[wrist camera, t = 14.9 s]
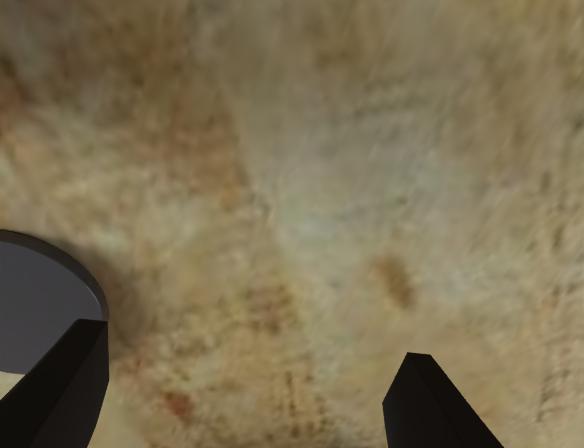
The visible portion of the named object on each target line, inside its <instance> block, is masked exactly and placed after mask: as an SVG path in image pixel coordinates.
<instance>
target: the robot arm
mask: <svg viewBox="0 0 584 448" xmlns="http://www.w3.org/2000/svg"><path fill="white" fill-rule="evenodd" d="M108 383H109V353H108V321H100V320H90V319H80V318H79V319H78V320H76V321H74V322H73V324H72V325H71V326H70V327H69V328H68V329H67V331H66V332H65V333H64V334H63V335H62V336H61V337H60V338H59V340H58V341H57V342H56V343H55V344H54V345H53V346H52V347H51V348H50V350H49V351H48V352H47V353H46V354H45V355H44V356H43V357H42V358H41V359H40V360H39V361H38V362H37V363H36V365H35V366H34V367H33V368H32V369H31V370H30V371H29V372H28V373H27V374H26V375H25V376H24V377H23V378H22V379H21V380H20V381H19V382H18V383H17V384H16V385H15V386H14V387H13V388H12V389H11V390H10V391H9V392H8V393H7V394H6V395H5V396H4V397H3V398H2V399H1V400H0V448H87V447H88V444H89V442H90V439H91V437H92V434H93V432H94V429H95V427H96V424H97V421H98V417H99V414H100V411H101V407H102V404H103V400H104V397H105V393H106V390H107V386H108ZM382 405H383V413H384V422H385V429H386V436H387V442H388V448H504V447H503V446H502V445H501V443H500V442H499V441H498V440H497V439H496V437H495V436H494V435H493V434H492V432H491V431H490V430H489V429H488V427H487V426H486V425H485V424H484V423H483V421H482V420H481V419H480V418H479V416H478V415H477V414H476V412H475V411H474V410H473V409H472V407H471V406H470V405H469V404H468V402H467V401H466V400H465V398H464V397H463V396H462V395H461V393H460V392H459V391H458V389H457V388H456V387H455V386H454V384H453V383H452V382H451V380H450V379H449V378H448V376H447V375H446V374H445V373H444V371H443V370H442V369H441V367H440V366H439V365H438V364H437V362H436V361H435V360H434V359H433V357H432V356H431V355H429V354H419V353H410V352H407V354H406V356H405V358H404V360H403V362H402V364H401V366H400V368H399V370H398V372H397V374H396V376H395V378H394V380H393V382H392V384H391V386H390V388H389V390H388V392H387V394H386V396H385V398H384V400H383V402H382Z"/></svg>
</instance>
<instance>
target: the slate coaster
mask: <svg viewBox="0 0 584 448" xmlns="http://www.w3.org/2000/svg"><path fill="white" fill-rule="evenodd" d="M108 317H109V312H108V305H107V302H106V298H105V296H104V293H103V291H102V289H101V287H100V286H99V284H98V283H97V281H96V280H95V279H94V277H93V276H92V275H91V274H90V273H89V272H88V271H87V270H86V269H85V268H84V267H83V266H82V265H81V264H80V263H79V262H77V261H76V260H75V259H73V258H72V257H71V256H69V255H68V254H66V253H65V252H63V251H61V250H60V249H58V248H56V247H54V246H52V245H50V244H48V243H46V242H44V241H41V240H38V239H36V238H33V237H30V236H26V235H23V234H19V233H15V232H9V231H3V230H0V371H2V372H7V373H14V374H27V373H28V372H29V371H30V370H31V369H32V368H33V367H34V366H35V365H36V363H37V362H38V361H39V360H40V359H41V358H42V357H43V356H44V355H45V354H46V353H47V352H48V351H49V350H50V348H51V347H52V346H53V345H54V344H55V343H56V342H57V341H58V340H59V338H60V337H61V336H62V335H63V334H64V333H65V332H66V331H67V329H68V328H69V327H70V326H71V325H72V324H73V322H74V321H76V320H78V319H79V318H80V319H90V320H100V321H108Z"/></svg>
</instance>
